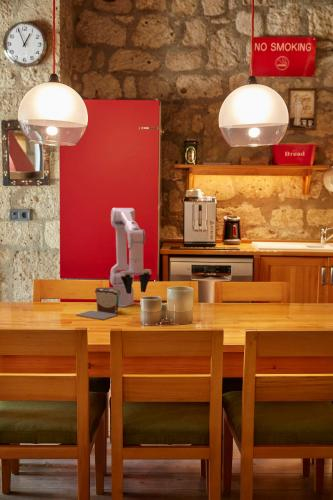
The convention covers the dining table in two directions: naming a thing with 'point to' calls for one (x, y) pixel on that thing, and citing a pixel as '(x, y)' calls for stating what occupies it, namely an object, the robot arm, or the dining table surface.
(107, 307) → the food container
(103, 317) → the mat
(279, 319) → the dining table surface
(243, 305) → the dining table surface
